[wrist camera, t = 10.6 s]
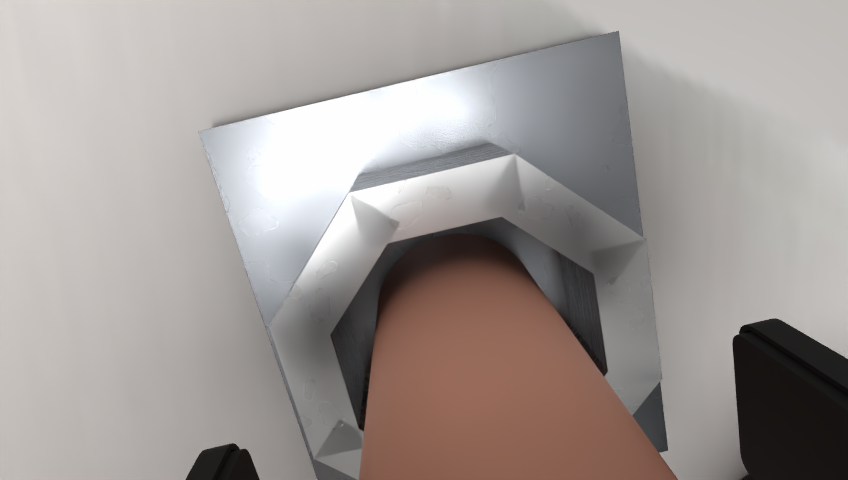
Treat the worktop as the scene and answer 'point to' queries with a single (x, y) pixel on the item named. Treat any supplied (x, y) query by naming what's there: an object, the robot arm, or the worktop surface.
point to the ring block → (442, 219)
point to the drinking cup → (748, 478)
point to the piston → (488, 379)
